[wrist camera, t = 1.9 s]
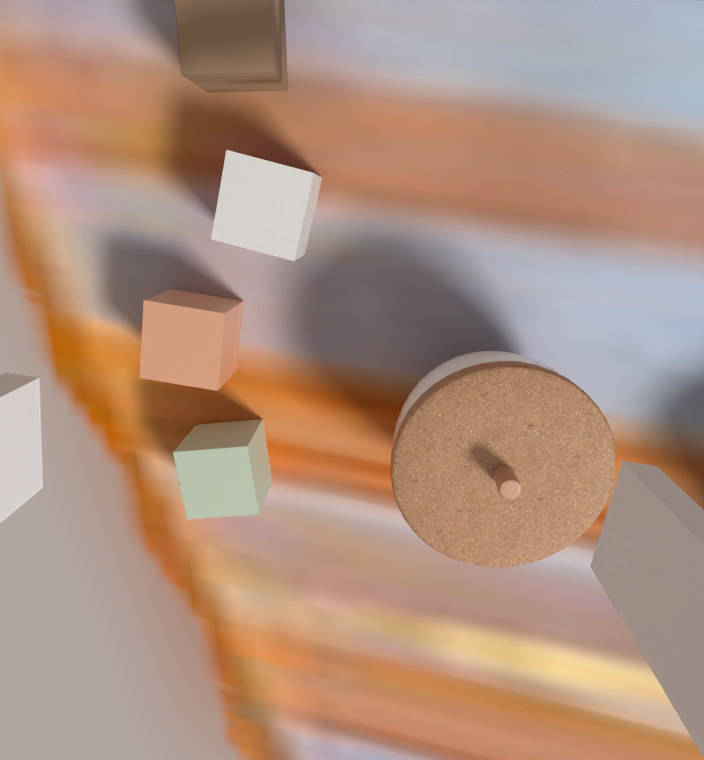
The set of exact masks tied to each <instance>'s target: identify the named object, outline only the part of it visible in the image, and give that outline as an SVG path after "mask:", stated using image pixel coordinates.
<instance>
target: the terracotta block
mask: <svg viewBox="0 0 704 760" xmlns="http://www.w3.org/2000/svg"><path fill="white" fill-rule="evenodd" d="M243 302H244V301H241V300H235V299H229V298H223V297H217V296H211V295H205V294H199V293H193V292H187V291H181V290H175V289H171V290H168V291H165V292H163V293H160V294H158V295H155V296H153V297H150V298H147V299H145V300H144V301H143V321H142V341H141V361H140V378H143V379H149V380H155V381H161V382H167V383H173V384H179V385H185V386H191V387H197V388H203V389H209V390H215V391H218V390H219V389H220V388H221V387H222V386H223V385H224V383H225V382H226V381H227V380H228V379H229V378H230V377H231V375H232V374H233V373H234V372H235V371H236V370H237V361H238V351H239V341H240V332H241V322H242V312H243Z"/></svg>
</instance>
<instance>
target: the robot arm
mask: <svg viewBox="0 0 704 760" xmlns="http://www.w3.org/2000/svg"><path fill="white" fill-rule="evenodd" d="M40 411H41V410H40V380H39V378H38V377H31V376H24V375H18V374H10V373H4V374H2V375H0V523H1V522H2V521H3V520H5V519H6V518H7V517H8V516H9V515H11V514H12V513H13V512H14V511H15V510H17V508H19V507H20V506H21V505H23V504H24V503H25V502H26V501H27V500H29V499H30V498H31V497H32V496H33V495H35V494H36V493H37V492H38V491H39V490H41V489H42V488H43V476H42V444H41V412H40ZM591 568H592V570H593V571H594V573H595V575H596V577H597V578H598V580H599V582H600V583H601V585H602V587H603V588H604V590H605V592H606V593H607V595H608V597H609V599H610V600H611V602H612V604H613V605H614V607H615V609H616V610H617V612H618V614H619V615H620V617H621V619H622V620H623V622H624V624H625V626H626V627H627V629H628V631H629V632H630V634H631V636H632V637H633V639H634V641H635V642H636V644H637V646H638V648H639V649H640V651H641V653H642V654H643V656H644V658H645V659H646V661H647V663H648V664H649V666H650V668H651V669H652V671H653V673H654V675H655V676H656V678H657V680H658V681H659V683H660V685H661V686H662V688H663V690H664V691H665V693H666V695H667V696H668V698H669V700H670V702H671V703H672V705H673V707H674V708H675V710H676V712H677V713H678V715H679V717H680V718H681V720H682V722H683V724H684V725H685V727H686V729H687V730H688V732H689V734H690V735H691V737H692V739H693V740H694V742H695V744H696V745H697V747H698V749H699V751H700V752H701V754H702V756H703V757H704V509H702V508H701V507H700V506H699V505H698V504H697V503H696V502H695V501H694V500H693V499H692V498H691V497H689V496H688V495H687V494H686V493H685V492H684V491H683V490H682V489H681V488H680V487H679V486H678V485H677V484H675V483H674V482H673V481H672V480H671V479H670V478H669V477H668V476H667V475H666V474H665V473H664V472H663V471H661V470H660V469H659V468H658V467H657V466H653V465H646V464H639V463H632V462H625V461H623V462H622V465H621V468H620V471H619V475H618V478H617V481H616V484H615V488H614V491H613V494H612V498H611V501H610V504H609V507H608V511H607V514H606V517H605V520H604V524H603V527H602V530H601V533H600V537H599V540H598V543H597V547H596V550H595V553H594V556H593V560H592V563H591Z"/></svg>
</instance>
